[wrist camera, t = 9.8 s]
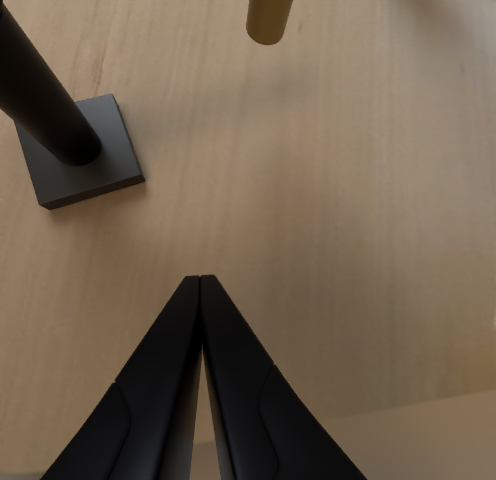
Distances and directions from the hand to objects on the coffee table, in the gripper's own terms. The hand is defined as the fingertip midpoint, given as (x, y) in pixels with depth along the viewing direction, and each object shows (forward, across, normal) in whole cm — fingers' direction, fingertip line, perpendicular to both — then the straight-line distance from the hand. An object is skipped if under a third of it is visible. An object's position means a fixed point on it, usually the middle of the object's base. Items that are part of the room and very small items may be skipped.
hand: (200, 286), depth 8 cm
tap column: (+16, +9, +1) cm, 18 cm away
